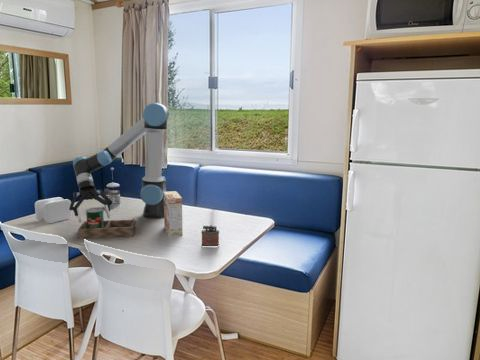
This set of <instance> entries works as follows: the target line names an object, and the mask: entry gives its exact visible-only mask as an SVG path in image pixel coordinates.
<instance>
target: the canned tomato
mask: <svg viewBox="0 0 480 360" xmlns="http://www.w3.org/2000/svg"><path fill="white" fill-rule="evenodd" d="M85 213H86V214H85V215H86V221H87V229H91V228H104V221H105V219H104V208H101V207H91V208H88V209H86V211H85Z"/></svg>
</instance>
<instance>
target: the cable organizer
mask: <svg viewBox="0 0 480 360" xmlns="http://www.w3.org/2000/svg"><path fill="white" fill-rule="evenodd" d="M71 202H72V200H70V199H68V198H66V199H64V198H63V197H60V196H57V197H51V198H50V197H49V198H44V199H39V200H37V201H35V202H34V210H35V211H34V212H35V213H34V214H35V219H36V220H38V221H44V222H45V223H47V224H54V223H55V224H56V223H57V222H60V221H62V222H63V221H68V220H70V218H72V216H73V214H72V213H73V211H72V210H69V208H70V205H71Z"/></svg>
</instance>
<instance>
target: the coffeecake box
mask: <svg viewBox="0 0 480 360" xmlns="http://www.w3.org/2000/svg"><path fill="white" fill-rule="evenodd" d="M163 219H164V222H163V223H164V224H163V225H164V229H165V231H166V234H167V235H168V237H169V236H170V237H177V235H179V236H183V197H182V196H181V195H180V194H179V193H178V191H175V190H173V191H172V190H171V191H167V190H166V192H164V217H163Z"/></svg>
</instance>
